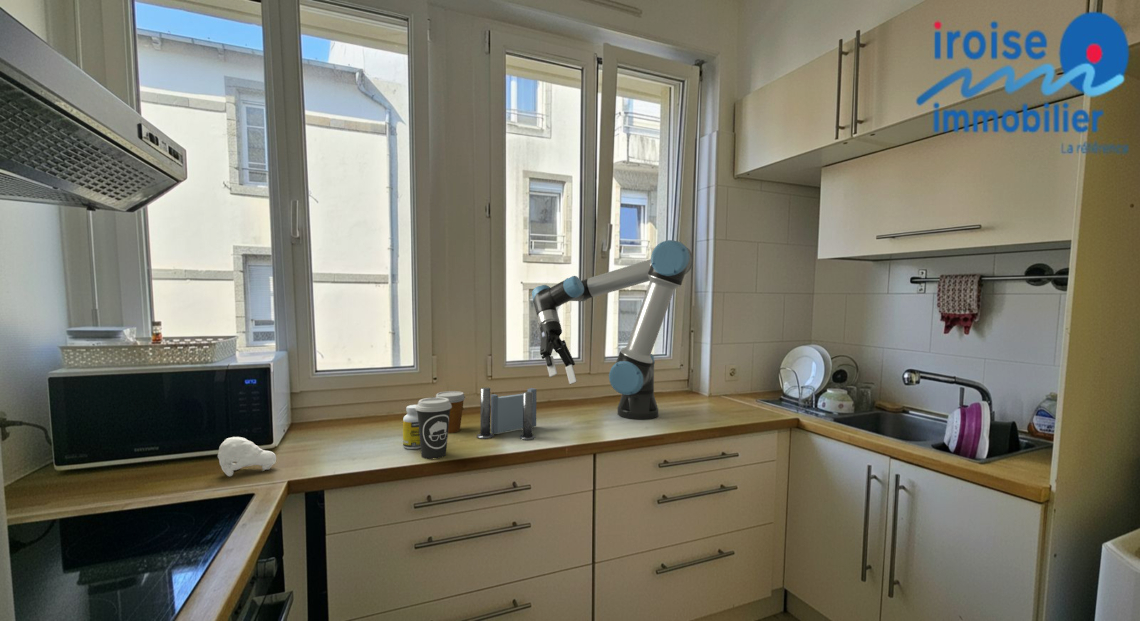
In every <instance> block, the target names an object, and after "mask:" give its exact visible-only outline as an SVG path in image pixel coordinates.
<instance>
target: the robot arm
mask: <svg viewBox="0 0 1140 621" xmlns="http://www.w3.org/2000/svg"><path fill="white" fill-rule="evenodd" d="M693 257H694V256H693V253H692V252H691V250H690V249H689V248H688V247H687V246H686V245H685V244H684V243H683V242H681V241H678V240H673V239H669V240H668V239H667V240H664V241H661V242H660V243H658V244H657V245H656V246H655V247H654V249H653V250H652V253H651V256H650V259H647V260H644V261H640V262H638V263H634V264H631V265H627V266H624V267H622V268H618V269H614V270H612V271H608V272H604V273H601V274H598V275H595V276H591V277H588V278H586V279H585V278H584V279H582V280H581V279H580V277H578V276H576V275H572V276H570V277H567V278H565V279H564V280H562V281H560V282H559V283H557V284H555V285H553V286H552V287H550V286H549V285H546V284H542V285H538V286H536V287H535V288H533V290H532V291H531V295H532V304H533V306H534V309H535V313H536V317H537V318H536V319H537V323H538V326H539V331H540V333H539V335H540V344H539V345H540V346H539V348H540V349H539V354H540V355H541V359H542V360H544V359H545V365H546V368H547V372H548V377H549V378H552V377H554V376H556V375H558V371H557V367H556V363H555V360H554V356H553V355H552V354H553V350H554V352H555V353H557V354H558V355H559V358H561V360H562V362H563V364H564V366H565V367H564V368H565V372H566V375H567V379H568V384H569V385H573V384H575V383H577V382H578V381H577V378H576V373H575V369H574V366H575V365H576V363H575V360H574V358H573V356H572V354H571V352H570V351H569V348H568V346H567V342H566V340H564V339H563V340H562V339H561V335H562V333H563V330H562V325H561V323H560V322H561V321H560V317H559V314H558V311H557V307H560V306H561V305H564V304H566V303H568V302H580V303H581V302H585V301H587V300H590V299H592V298H596V297H598V296H602V295H605V294H609V293H612V292H615V291H619V290H623V289H627V288H630V287H634V286H636V285H640V284H644V283H648V282H649V283H648V285H647V288H646V291H645V294H644V296H643V299H642V302H641V305H640V308H639V311H638V313H637V316H636V319H635V322H634V324H633V327H632V330H631V333H630V336H629V338H628V342H627V345H626V347H624V348H621V349H620V350H619V353H618V355H617V356H618V357H617V359H616V361H615V363H614V364H613V365H612V366H611V368H610V370H609V373H608V380H609V383H610V386H611V387H612V388H613V390H615V391H616V392H617V393H619V394H621V396H620V399H619V403H618V406H617V412H616V413H617V415H618V416H620V417H621V418H626V419H630V420H651V419H655V418H657V417H659V407H658V405H657V401H656V400H657V399H656V397H655V391H654V390H655V356H654V355H653V354H652V352H653V350H654V349H653V348H654V346H655V344H656V341H657V338H658V335H659V332H660V329H661V327H662V324H663V322H664V319H665V317H666V313H667V311H668V309H669V305H670V302H671V300H672V297H673V296H674V295H673V294H674V292H675V290H676V289H678V288H680V287H682V283H683V281H684V278H685V276H686V275H687V274H688V273H689V272H690V271H691V269H692V267H693V264H694V258H693Z"/></svg>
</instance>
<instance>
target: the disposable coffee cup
mask: <svg viewBox="0 0 1140 621" xmlns="http://www.w3.org/2000/svg"><path fill="white" fill-rule="evenodd" d="M435 397H442V398H447V399H449V402H450V403H451V405H452V408H451V409H450V415H449V426H448V434H451V433H452V434H454V433H457V432H460V430H461V425H462V419H463V418H462V416H463V408H464V401H465V399H466V396H465V393H464V392H462V391H459V390H458V391H457V390H453V391H452V390H448V391H440V392H438V393H436V394H435Z"/></svg>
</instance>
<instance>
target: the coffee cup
mask: <svg viewBox="0 0 1140 621" xmlns="http://www.w3.org/2000/svg"><path fill="white" fill-rule="evenodd" d="M416 405H417V406H416V408H415V409H416V410H417V413H418V423H419V435H420V446H421V448H420V455H421V458H423V459H426V458H427V459H426V460H434V459H433V458H436V459H440V457H441V458H443V457H445V456H446V455H447V447H448V436H449V433H448V426H449V415H450V409H451V408H452V405H451V403H450V402H449V399H447V398H442V397H436V396H434V397H425V398H421V399H419V400H418V402H417V404H416ZM442 456H443V457H442Z"/></svg>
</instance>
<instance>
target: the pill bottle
mask: <svg viewBox="0 0 1140 621" xmlns="http://www.w3.org/2000/svg"><path fill="white" fill-rule="evenodd" d="M416 406H417V404H410V405H407V406H406V408H405V409H406V415H404V416H403V417H402V418H403V420H402V446H403V448H405V449H407V450H416V449H417V450H418V449H421V446H420V435H419V423H418V413H417V410H416V409H415V408H416Z"/></svg>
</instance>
